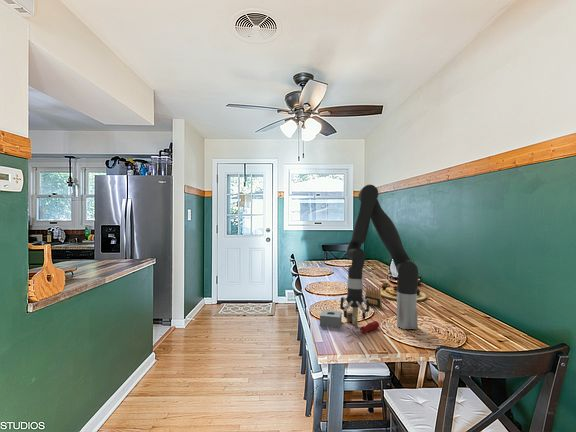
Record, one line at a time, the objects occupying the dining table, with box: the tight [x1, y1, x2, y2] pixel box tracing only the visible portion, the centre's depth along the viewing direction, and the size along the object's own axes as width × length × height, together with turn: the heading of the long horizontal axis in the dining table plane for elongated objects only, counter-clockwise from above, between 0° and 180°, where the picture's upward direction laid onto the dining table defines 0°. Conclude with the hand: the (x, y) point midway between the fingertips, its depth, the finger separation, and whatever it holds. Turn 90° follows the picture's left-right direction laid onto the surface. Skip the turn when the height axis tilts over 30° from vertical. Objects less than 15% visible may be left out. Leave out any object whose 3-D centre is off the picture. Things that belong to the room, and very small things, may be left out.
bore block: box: [319, 309, 343, 329], centre depth 153 cm, size 10×10×5 cm
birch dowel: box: [351, 307, 359, 327], centre depth 151 cm, size 3×3×9 cm
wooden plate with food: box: [378, 281, 427, 303], centre depth 209 cm, size 32×32×8 cm
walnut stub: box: [346, 310, 352, 323], centre depth 156 cm, size 5×5×4 cm
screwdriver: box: [345, 320, 380, 338], centre depth 139 cm, size 4×25×4 cm, turn 132°
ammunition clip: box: [364, 285, 382, 308], centre depth 185 cm, size 11×2×12 cm, turn 43°
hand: (354, 318), depth 151 cm, fingers open, 8 cm apart
